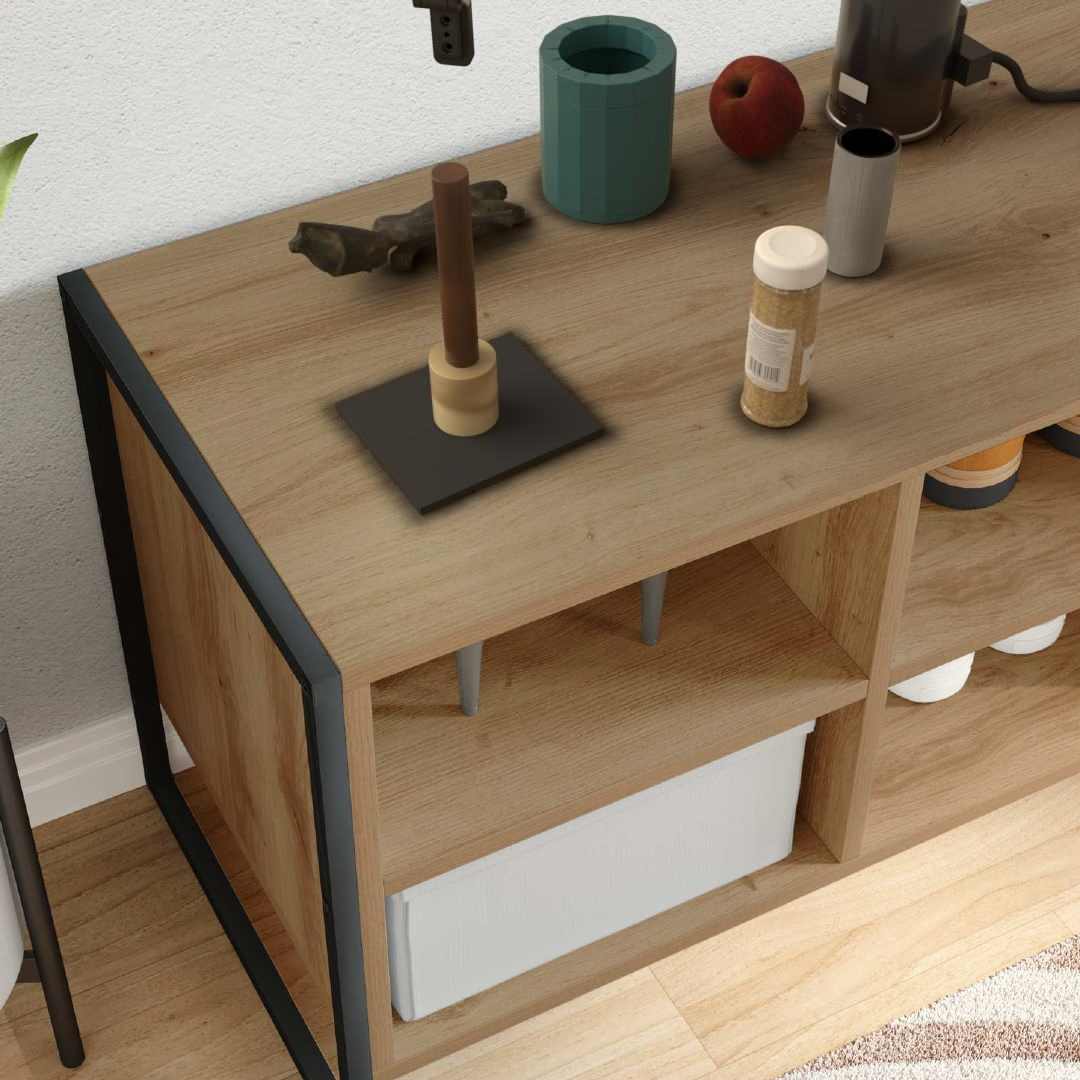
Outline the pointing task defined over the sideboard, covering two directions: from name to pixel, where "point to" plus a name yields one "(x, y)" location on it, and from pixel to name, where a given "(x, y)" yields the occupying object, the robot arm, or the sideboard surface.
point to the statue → (395, 233)
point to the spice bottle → (783, 324)
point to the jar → (606, 117)
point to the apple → (756, 106)
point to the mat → (474, 461)
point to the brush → (459, 316)
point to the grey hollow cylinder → (860, 197)
